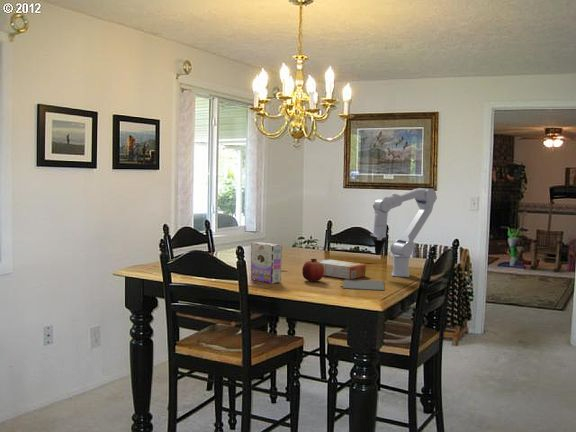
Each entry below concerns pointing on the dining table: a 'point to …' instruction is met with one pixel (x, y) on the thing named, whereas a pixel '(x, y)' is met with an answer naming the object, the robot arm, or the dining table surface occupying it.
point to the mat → (363, 285)
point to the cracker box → (343, 269)
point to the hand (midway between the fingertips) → (377, 254)
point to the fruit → (313, 270)
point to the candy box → (266, 262)
